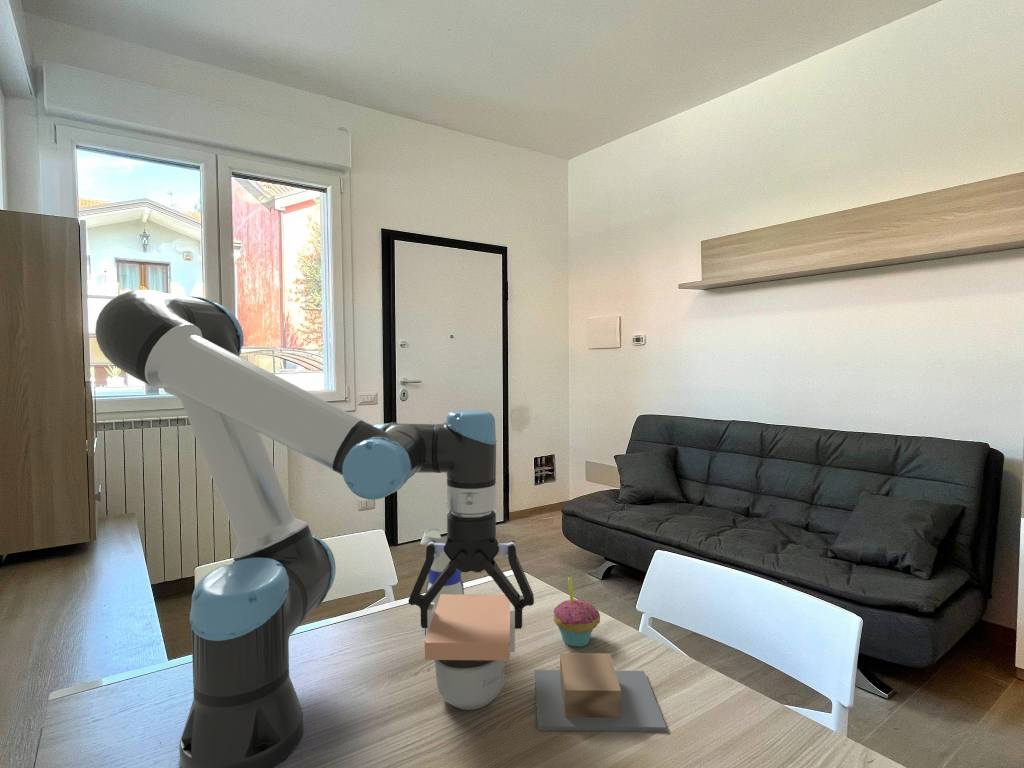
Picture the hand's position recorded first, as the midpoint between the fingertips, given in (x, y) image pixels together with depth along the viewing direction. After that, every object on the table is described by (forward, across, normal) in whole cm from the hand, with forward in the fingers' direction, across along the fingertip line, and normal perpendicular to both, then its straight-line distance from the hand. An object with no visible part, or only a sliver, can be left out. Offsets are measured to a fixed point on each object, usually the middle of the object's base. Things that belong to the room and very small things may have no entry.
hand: (471, 647), depth 87 cm
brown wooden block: (+7, +18, -2) cm, 19 cm away
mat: (+7, +19, -2) cm, 20 cm away
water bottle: (+7, -7, +19) cm, 22 cm away
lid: (-2, 0, 0) cm, 2 cm away
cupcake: (+7, +18, +16) cm, 25 cm away
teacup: (+7, 0, 0) cm, 7 cm away
